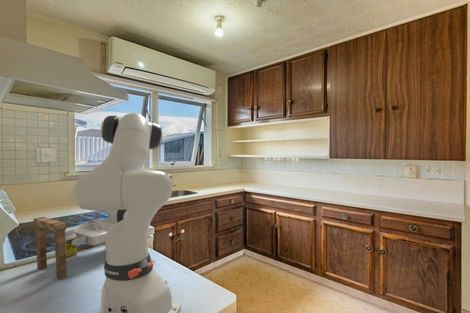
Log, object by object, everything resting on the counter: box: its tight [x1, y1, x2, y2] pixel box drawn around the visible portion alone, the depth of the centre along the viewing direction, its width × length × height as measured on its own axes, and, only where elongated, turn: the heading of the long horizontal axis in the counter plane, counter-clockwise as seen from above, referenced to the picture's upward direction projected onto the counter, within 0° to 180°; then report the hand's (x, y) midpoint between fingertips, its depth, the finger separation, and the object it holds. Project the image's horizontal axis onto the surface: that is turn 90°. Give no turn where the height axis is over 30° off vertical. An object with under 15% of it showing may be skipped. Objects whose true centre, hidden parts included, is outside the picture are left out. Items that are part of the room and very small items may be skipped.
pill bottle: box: [65, 227, 78, 261], centre depth 98 cm, size 6×6×11 cm
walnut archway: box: [33, 216, 68, 281], centre depth 93 cm, size 18×3×20 cm, turn 59°
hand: (66, 241), depth 98 cm, fingers closed on pill bottle, 6 cm apart
